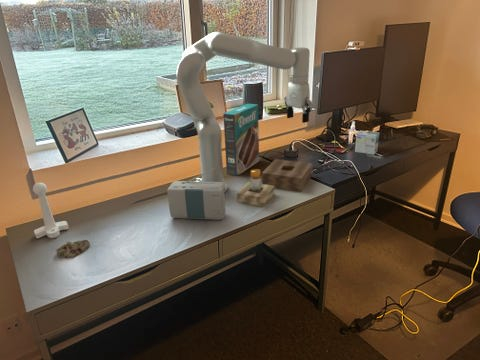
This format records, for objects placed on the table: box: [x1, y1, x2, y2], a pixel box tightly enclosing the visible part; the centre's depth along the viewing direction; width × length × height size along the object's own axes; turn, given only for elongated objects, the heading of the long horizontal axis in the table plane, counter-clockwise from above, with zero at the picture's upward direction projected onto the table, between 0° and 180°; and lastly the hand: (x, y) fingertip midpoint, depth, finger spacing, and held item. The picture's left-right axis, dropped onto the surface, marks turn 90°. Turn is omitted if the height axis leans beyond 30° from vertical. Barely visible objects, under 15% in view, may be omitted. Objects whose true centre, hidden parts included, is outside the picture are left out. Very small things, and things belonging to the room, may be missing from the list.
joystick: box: [32, 181, 70, 239], centre depth 133 cm, size 11×8×20 cm
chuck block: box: [261, 158, 313, 193], centre depth 171 cm, size 18×18×6 cm
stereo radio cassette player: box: [167, 167, 226, 221], centre depth 142 cm, size 21×8×20 cm, turn 82°
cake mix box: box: [222, 103, 260, 177], centre depth 184 cm, size 22×6×30 cm, turn 148°
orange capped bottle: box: [250, 168, 262, 193], centre depth 155 cm, size 4×4×11 cm
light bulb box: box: [354, 130, 380, 155], centre depth 202 cm, size 11×7×11 cm, turn 58°
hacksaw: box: [312, 157, 347, 174], centre depth 188 cm, size 24×10×2 cm, turn 121°
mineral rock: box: [55, 239, 91, 259], centre depth 126 cm, size 11×4×8 cm
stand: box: [236, 181, 275, 207], centre depth 157 cm, size 12×12×4 cm
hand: (297, 119), depth 161 cm, fingers open, 9 cm apart
